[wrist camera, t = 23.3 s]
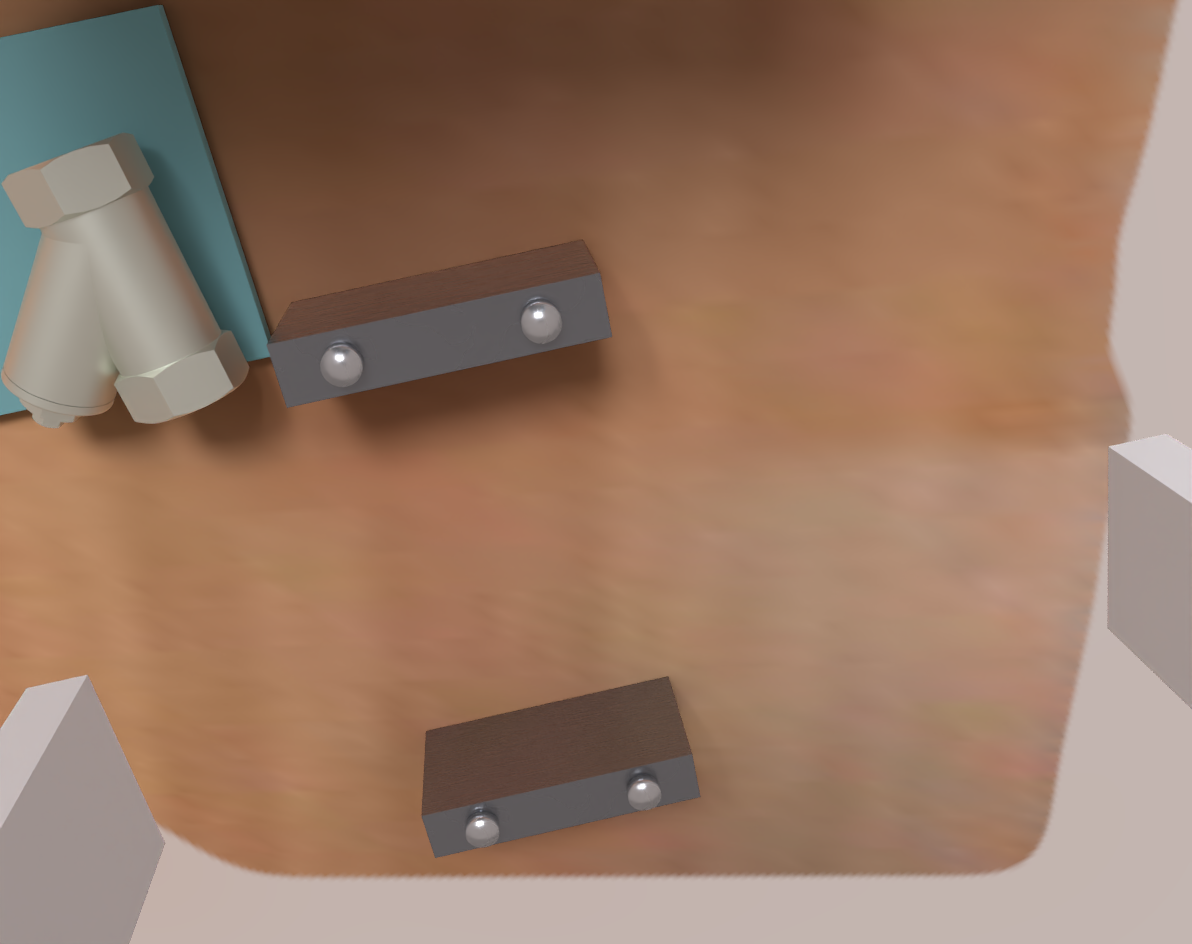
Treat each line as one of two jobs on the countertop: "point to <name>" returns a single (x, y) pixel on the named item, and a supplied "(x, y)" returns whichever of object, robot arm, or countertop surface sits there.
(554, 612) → the countertop surface
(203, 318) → the pipe fitting
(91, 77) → the mat
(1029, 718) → the countertop surface
